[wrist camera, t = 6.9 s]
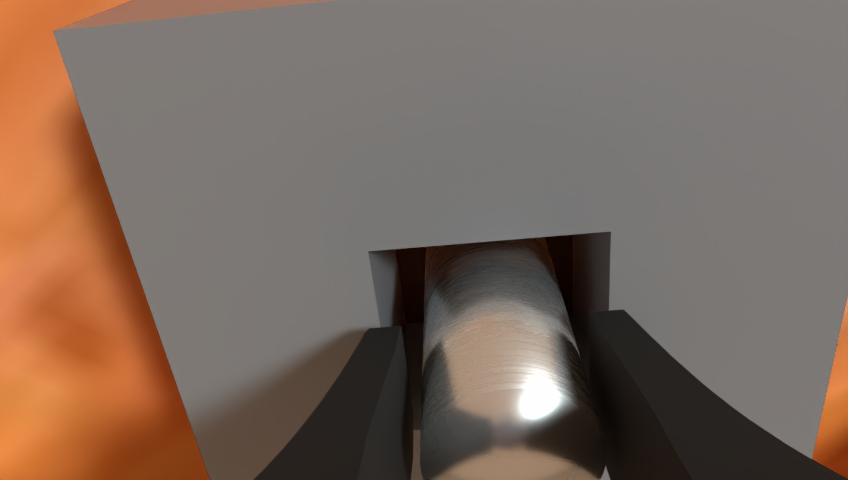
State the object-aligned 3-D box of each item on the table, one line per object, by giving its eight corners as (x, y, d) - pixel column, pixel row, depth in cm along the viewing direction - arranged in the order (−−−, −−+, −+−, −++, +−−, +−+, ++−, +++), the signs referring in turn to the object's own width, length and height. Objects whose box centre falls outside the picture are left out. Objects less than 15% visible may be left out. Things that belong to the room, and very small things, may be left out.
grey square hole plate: (797, -78, 13) (925, -64, 10) (728, 427, 19) (792, 548, 16) (149, -7, 14) (52, 31, 11) (277, 455, 20) (243, 575, 17)
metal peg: (544, 189, 16) (610, 385, 10) (545, 294, 18) (603, 520, 12) (420, 199, 16) (410, 396, 10) (430, 301, 18) (428, 529, 12)
